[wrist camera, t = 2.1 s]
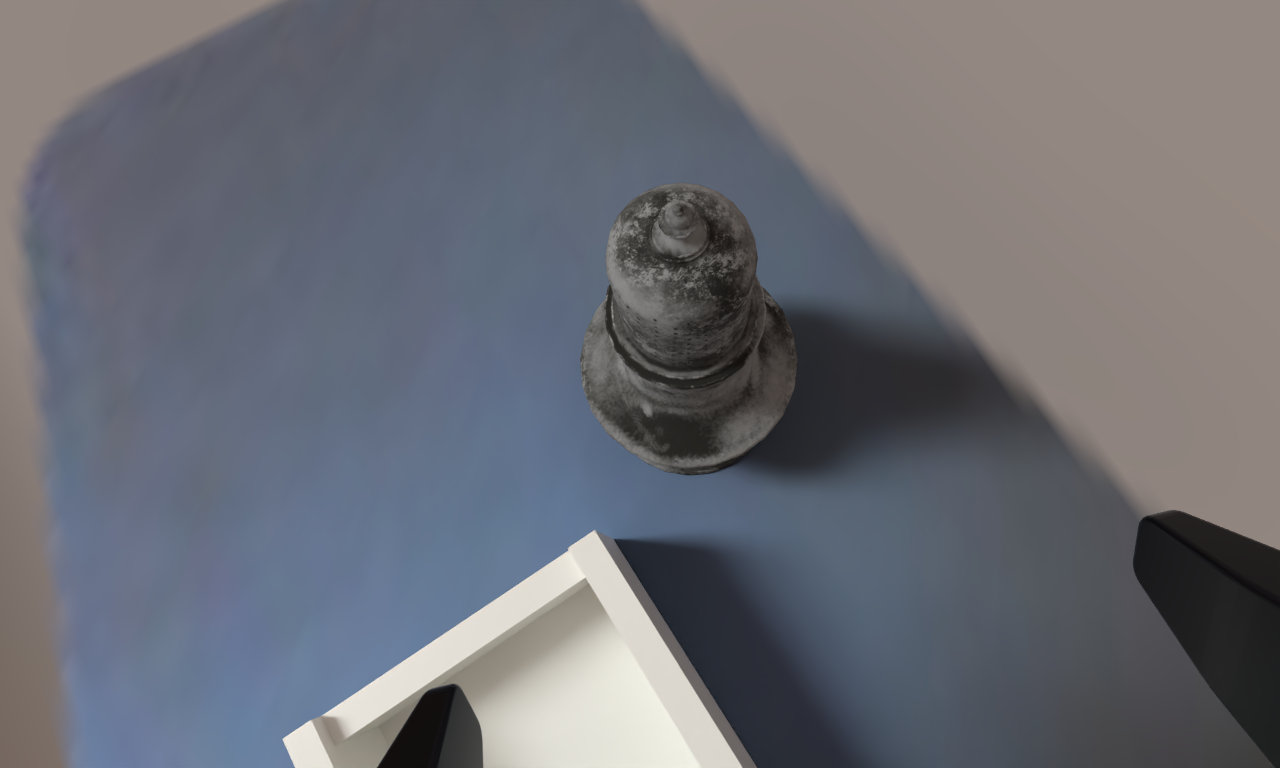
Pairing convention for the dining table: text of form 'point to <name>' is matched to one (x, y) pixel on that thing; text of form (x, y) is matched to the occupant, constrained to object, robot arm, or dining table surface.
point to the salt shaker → (686, 335)
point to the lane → (548, 681)
